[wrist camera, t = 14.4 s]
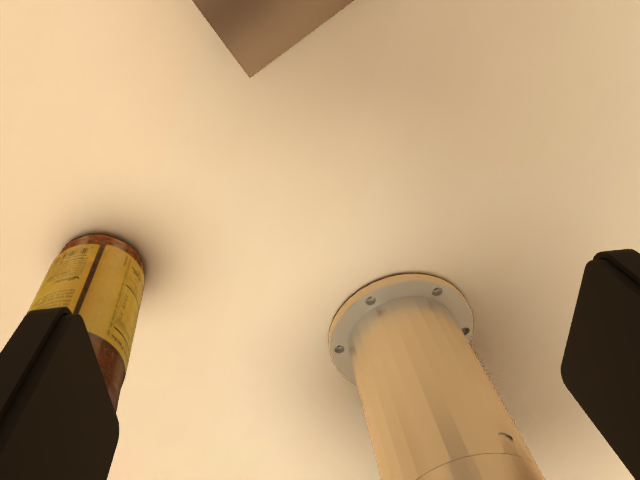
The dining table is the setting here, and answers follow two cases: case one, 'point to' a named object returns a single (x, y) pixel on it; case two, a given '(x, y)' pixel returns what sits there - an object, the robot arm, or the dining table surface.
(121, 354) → the sauce bottle
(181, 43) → the dining table surface
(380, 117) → the dining table surface
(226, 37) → the post board
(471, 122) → the dining table surface
